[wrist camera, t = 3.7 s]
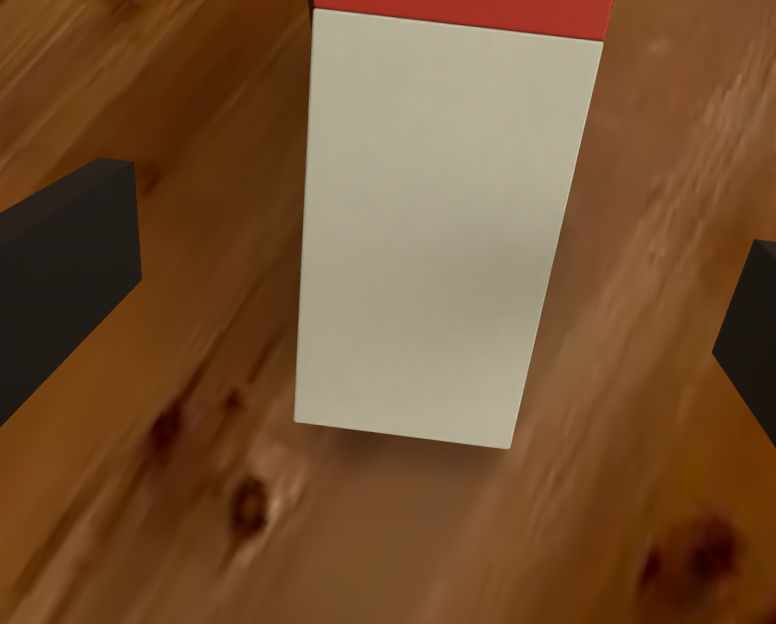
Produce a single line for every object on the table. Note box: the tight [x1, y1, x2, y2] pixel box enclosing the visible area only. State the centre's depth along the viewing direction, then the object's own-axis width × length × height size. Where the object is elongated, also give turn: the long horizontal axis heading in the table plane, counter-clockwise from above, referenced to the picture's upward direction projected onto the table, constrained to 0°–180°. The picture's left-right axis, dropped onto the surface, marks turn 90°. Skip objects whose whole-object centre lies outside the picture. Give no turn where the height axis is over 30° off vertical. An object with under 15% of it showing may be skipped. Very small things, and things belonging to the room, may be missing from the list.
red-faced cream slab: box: [294, 0, 614, 449], centre depth 20 cm, size 13×6×13 cm, turn 173°
